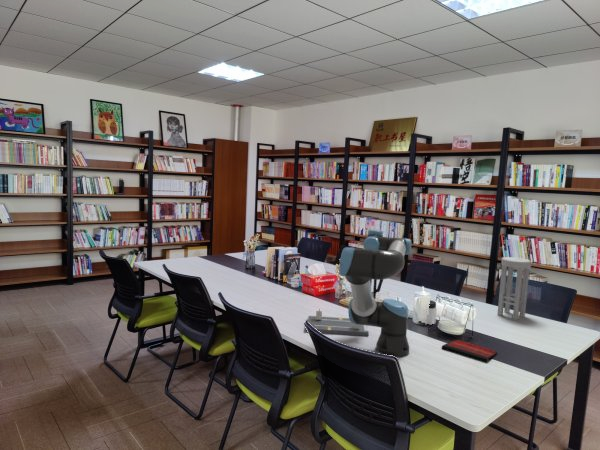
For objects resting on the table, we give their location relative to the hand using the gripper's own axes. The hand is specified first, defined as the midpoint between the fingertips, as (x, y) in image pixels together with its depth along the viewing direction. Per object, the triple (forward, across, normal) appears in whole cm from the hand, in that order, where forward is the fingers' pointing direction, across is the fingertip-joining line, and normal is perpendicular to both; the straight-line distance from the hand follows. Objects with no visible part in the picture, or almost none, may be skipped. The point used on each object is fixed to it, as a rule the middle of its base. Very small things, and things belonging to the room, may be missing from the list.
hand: (371, 304), depth 216 cm
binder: (+16, -46, +15) cm, 51 cm away
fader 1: (+13, +27, -10) cm, 31 cm away
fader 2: (+12, +7, 0) cm, 14 cm away
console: (+15, +17, -5) cm, 23 cm away
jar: (+16, -34, -23) cm, 44 cm away
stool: (+16, -89, -46) cm, 101 cm away
